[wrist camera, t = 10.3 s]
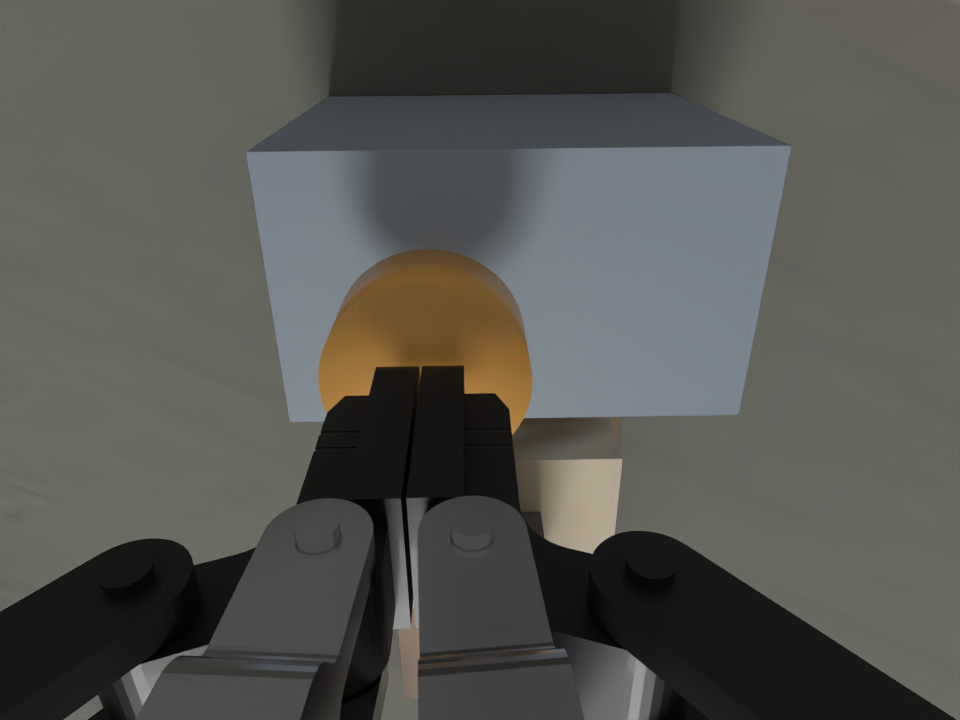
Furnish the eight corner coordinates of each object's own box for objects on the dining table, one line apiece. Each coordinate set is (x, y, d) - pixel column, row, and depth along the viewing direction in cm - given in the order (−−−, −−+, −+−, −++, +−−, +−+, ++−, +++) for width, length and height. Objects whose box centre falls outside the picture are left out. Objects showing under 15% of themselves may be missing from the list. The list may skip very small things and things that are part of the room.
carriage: (600, 395, 27) (658, 565, 19) (589, 529, 30) (634, 725, 22) (400, 398, 27) (371, 570, 19) (410, 533, 30) (389, 730, 22)
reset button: (526, 247, 14) (535, 284, 12) (522, 417, 16) (529, 470, 14) (326, 250, 14) (305, 287, 12) (346, 420, 15) (330, 473, 14)
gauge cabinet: (671, 92, 24) (791, 145, 15) (649, 280, 27) (738, 414, 18) (311, 96, 24) (218, 152, 15) (332, 285, 27) (267, 422, 18)
